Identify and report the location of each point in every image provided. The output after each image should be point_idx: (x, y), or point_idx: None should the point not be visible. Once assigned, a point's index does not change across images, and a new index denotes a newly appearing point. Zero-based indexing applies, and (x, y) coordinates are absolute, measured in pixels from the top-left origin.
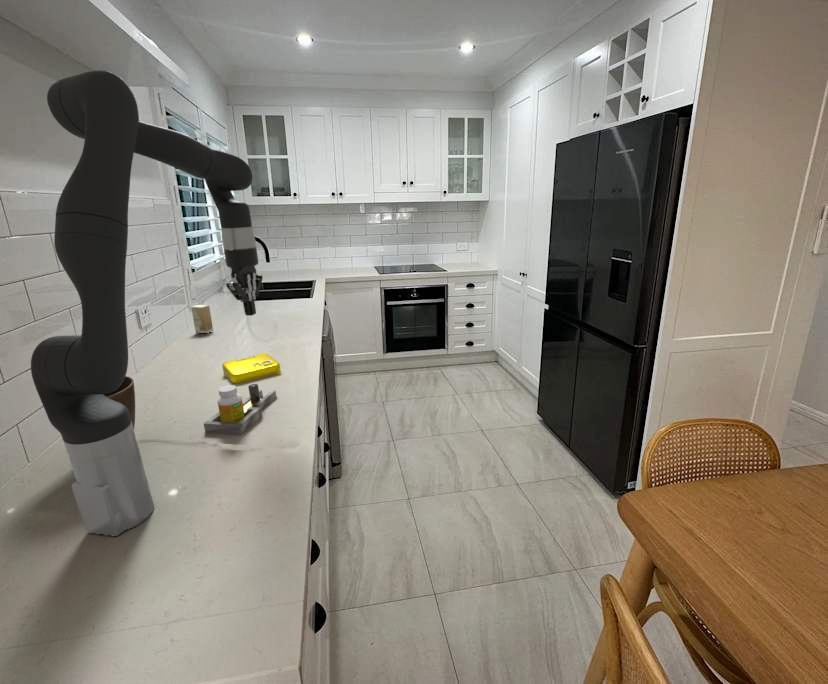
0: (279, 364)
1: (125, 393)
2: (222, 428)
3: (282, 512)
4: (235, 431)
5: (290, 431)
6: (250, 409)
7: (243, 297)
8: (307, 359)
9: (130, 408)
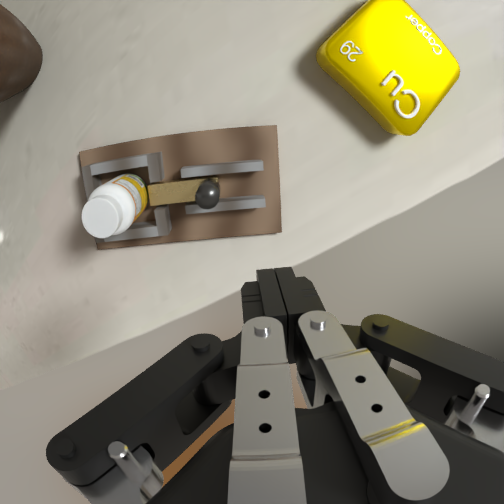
0: (411, 134)
1: None
2: None
3: (39, 356)
4: None
5: (152, 297)
6: (155, 218)
7: (181, 407)
8: (471, 158)
9: None
